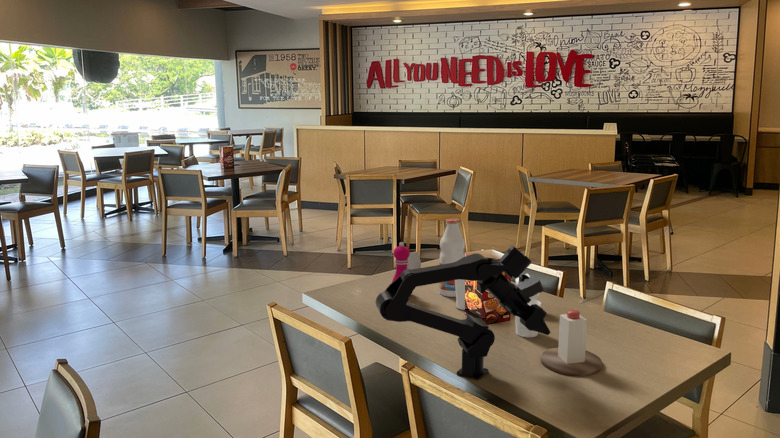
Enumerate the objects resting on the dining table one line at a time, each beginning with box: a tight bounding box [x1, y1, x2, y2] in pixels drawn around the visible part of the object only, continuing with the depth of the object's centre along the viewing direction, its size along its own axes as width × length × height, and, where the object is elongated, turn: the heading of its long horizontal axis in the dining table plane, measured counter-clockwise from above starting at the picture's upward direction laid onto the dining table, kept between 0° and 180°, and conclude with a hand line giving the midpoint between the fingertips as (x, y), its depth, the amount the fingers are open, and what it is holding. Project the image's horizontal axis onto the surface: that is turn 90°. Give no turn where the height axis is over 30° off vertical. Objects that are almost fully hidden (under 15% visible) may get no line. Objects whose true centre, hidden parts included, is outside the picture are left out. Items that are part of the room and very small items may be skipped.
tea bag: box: [407, 250, 422, 270], centre depth 252 cm, size 4×7×10 cm, turn 134°
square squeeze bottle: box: [558, 309, 588, 364], centre depth 169 cm, size 5×5×14 cm
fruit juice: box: [438, 217, 466, 298], centre depth 228 cm, size 9×9×28 cm
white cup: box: [514, 299, 542, 338], centre depth 191 cm, size 8×8×10 cm
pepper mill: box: [391, 241, 411, 283], centre depth 228 cm, size 7×7×20 cm
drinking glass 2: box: [455, 279, 466, 311], centre depth 214 cm, size 7×7×15 cm
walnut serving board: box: [540, 347, 603, 377], centre depth 170 cm, size 16×16×1 cm
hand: (541, 327), depth 166 cm, fingers open, 9 cm apart
